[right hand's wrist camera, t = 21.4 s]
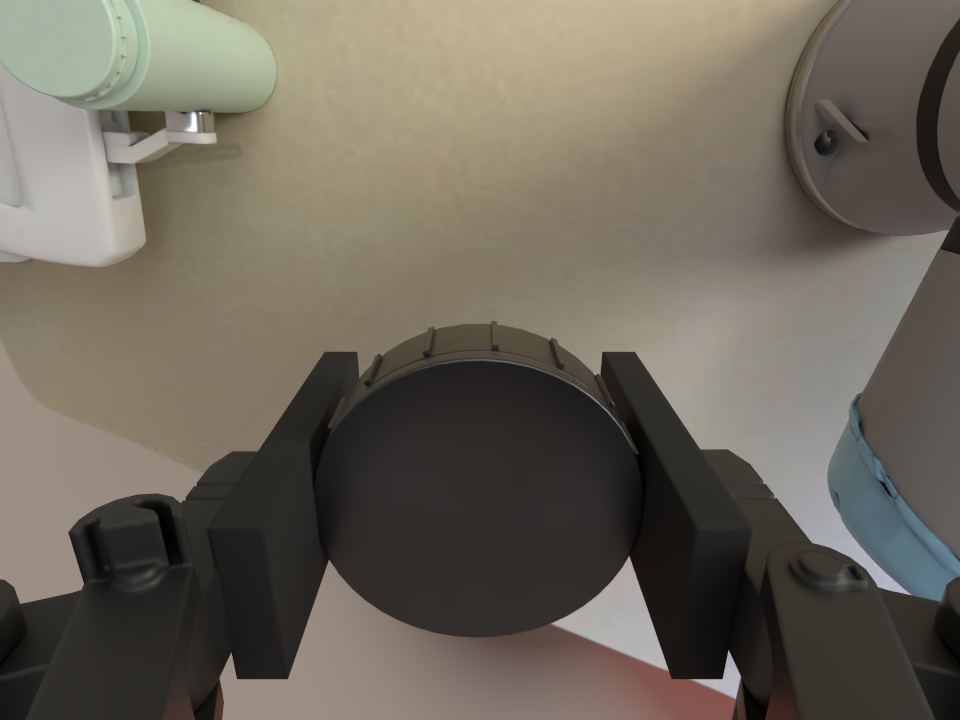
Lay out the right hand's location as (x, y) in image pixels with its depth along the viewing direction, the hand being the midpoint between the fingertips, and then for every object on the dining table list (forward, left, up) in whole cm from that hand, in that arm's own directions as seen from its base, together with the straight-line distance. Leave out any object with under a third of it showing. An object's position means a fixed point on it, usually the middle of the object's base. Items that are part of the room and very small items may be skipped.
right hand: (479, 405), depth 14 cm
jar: (-3, -16, -25) cm, 30 cm away
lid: (0, 0, +4) cm, 4 cm away
